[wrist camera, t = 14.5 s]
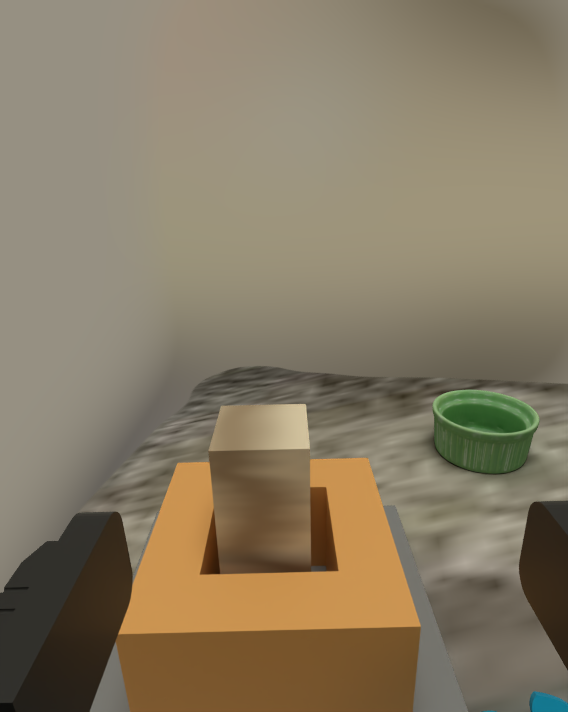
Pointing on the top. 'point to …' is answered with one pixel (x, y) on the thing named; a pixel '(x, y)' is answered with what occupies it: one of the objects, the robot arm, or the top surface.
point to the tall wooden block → (262, 489)
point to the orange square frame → (280, 614)
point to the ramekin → (483, 430)
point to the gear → (545, 703)
